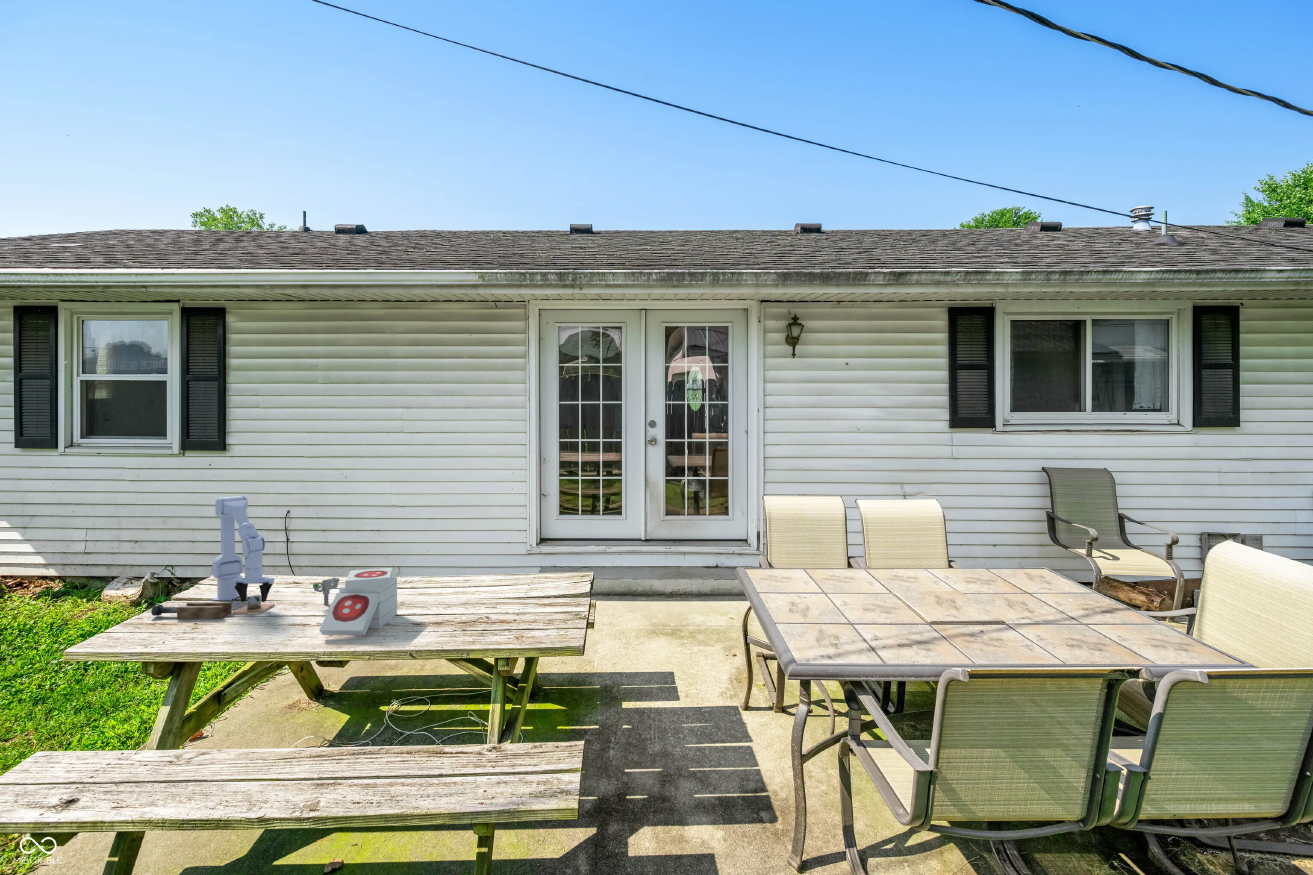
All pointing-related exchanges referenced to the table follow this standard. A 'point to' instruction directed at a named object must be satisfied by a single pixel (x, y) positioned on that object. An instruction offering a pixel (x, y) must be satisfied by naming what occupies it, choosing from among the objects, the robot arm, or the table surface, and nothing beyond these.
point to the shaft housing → (204, 610)
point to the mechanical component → (326, 587)
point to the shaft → (162, 610)
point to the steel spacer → (254, 602)
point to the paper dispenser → (362, 603)
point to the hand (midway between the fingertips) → (253, 601)
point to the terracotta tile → (260, 610)
